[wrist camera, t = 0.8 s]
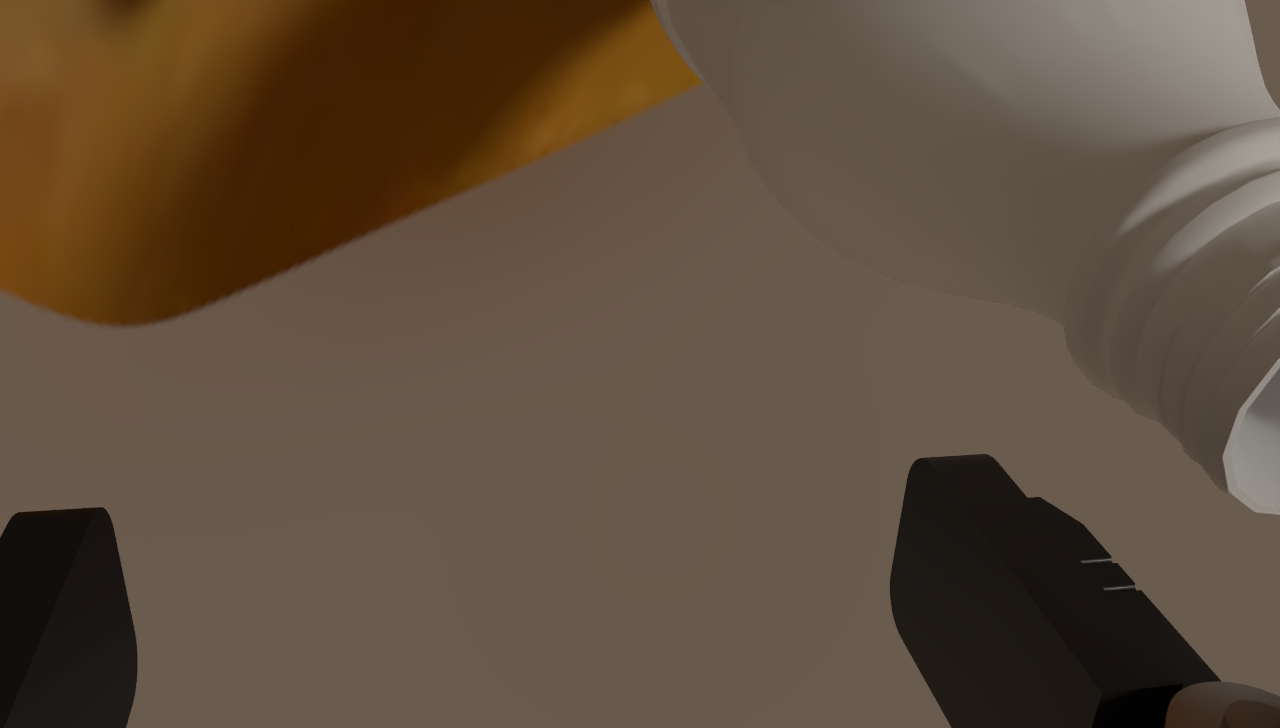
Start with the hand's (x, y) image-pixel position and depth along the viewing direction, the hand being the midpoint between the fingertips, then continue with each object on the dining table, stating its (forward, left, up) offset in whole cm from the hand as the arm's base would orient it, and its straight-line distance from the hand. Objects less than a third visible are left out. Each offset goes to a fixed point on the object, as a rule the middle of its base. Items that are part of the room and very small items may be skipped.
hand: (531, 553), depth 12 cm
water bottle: (+6, +6, -24) cm, 25 cm away
